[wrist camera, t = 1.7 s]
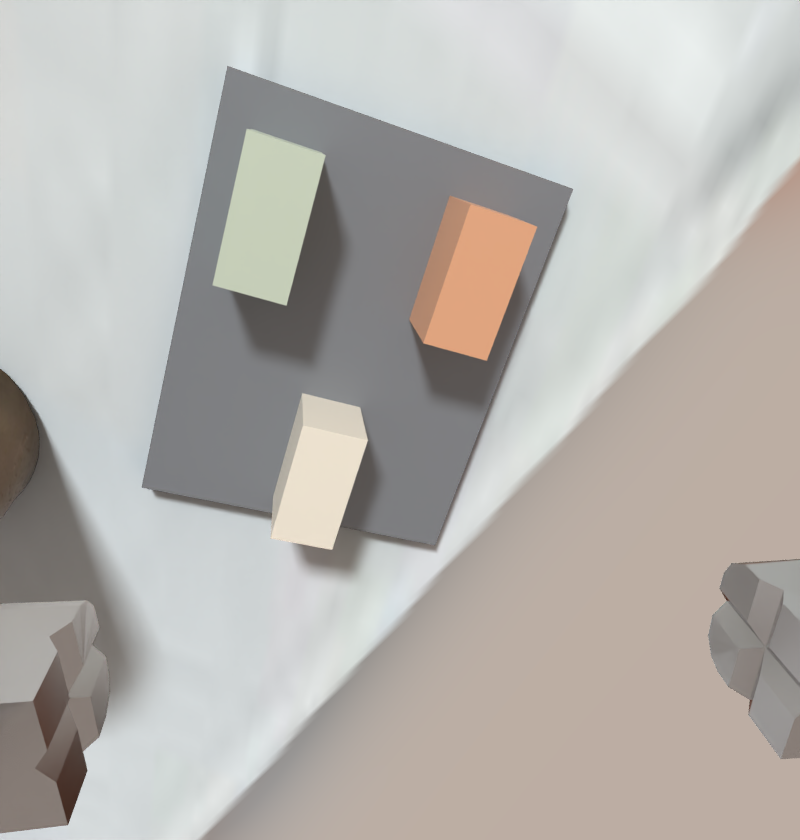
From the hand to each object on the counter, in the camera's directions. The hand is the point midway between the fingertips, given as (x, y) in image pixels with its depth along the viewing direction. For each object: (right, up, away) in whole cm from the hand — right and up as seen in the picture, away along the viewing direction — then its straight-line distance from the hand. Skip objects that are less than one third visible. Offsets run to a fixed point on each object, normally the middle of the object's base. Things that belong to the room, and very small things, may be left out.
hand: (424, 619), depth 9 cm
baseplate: (-3, +7, +25) cm, 26 cm away
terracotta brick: (+3, +10, +23) cm, 25 cm away
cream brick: (-5, +1, +26) cm, 26 cm away
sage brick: (-6, +12, +21) cm, 25 cm away
